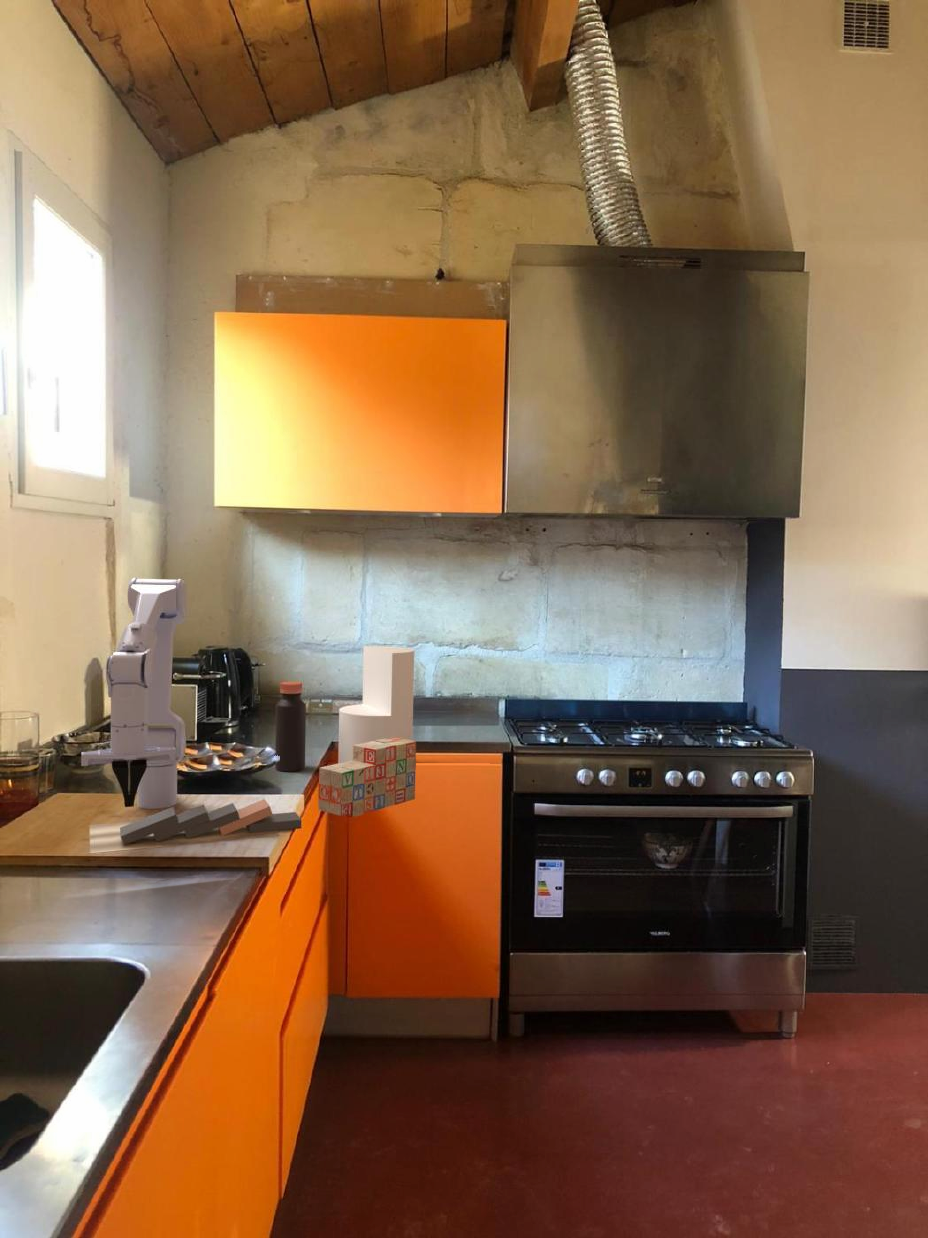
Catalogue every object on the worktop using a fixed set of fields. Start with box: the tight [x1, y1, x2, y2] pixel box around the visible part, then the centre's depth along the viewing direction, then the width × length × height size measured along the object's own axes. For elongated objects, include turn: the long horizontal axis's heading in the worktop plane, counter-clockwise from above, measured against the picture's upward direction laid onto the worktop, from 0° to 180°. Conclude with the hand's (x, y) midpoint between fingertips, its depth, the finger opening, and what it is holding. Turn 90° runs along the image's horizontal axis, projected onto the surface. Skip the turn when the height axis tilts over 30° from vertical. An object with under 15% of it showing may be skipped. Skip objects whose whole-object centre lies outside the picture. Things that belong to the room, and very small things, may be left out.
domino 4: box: [218, 798, 274, 836], centre depth 154 cm, size 2×5×9 cm
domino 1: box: [120, 806, 178, 845], centre depth 148 cm, size 2×5×9 cm
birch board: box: [89, 820, 280, 855], centre depth 153 cm, size 16×30×1 cm, turn 113°
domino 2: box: [153, 804, 210, 842], centre depth 150 cm, size 2×5×9 cm
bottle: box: [274, 681, 307, 773], centre depth 204 cm, size 7×7×20 cm
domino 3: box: [185, 802, 240, 839], centre depth 152 cm, size 2×5×9 cm
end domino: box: [246, 811, 302, 833], centre depth 156 cm, size 2×5×9 cm
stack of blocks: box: [317, 738, 417, 819], centre depth 174 cm, size 21×6×12 cm, turn 143°
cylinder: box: [337, 645, 415, 764], centre depth 206 cm, size 17×17×28 cm
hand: (129, 805), depth 146 cm, fingers closed
